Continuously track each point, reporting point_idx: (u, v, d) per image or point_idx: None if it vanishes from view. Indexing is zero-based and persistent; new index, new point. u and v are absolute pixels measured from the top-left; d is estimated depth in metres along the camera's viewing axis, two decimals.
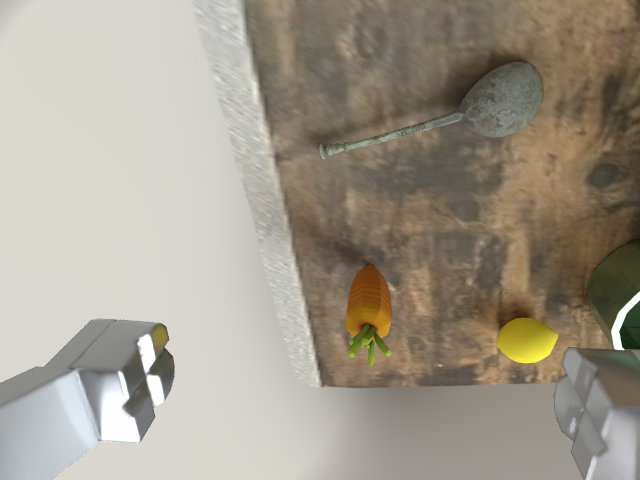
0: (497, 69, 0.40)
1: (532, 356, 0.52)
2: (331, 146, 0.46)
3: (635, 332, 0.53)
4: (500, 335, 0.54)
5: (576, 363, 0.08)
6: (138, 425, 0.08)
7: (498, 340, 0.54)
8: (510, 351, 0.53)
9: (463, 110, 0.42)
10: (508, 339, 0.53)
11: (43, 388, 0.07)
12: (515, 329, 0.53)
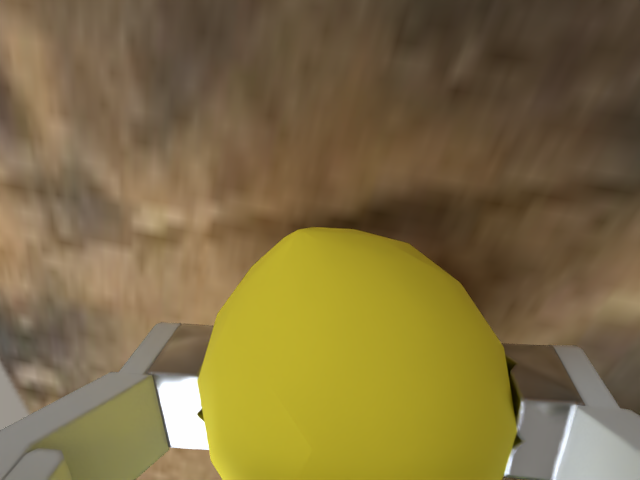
0: None
1: None
2: None
3: None
4: (383, 248, 0.07)
5: None
6: None
7: (343, 242, 0.07)
8: (336, 374, 0.06)
9: None
10: (425, 326, 0.06)
11: (122, 394, 0.07)
12: (489, 341, 0.07)
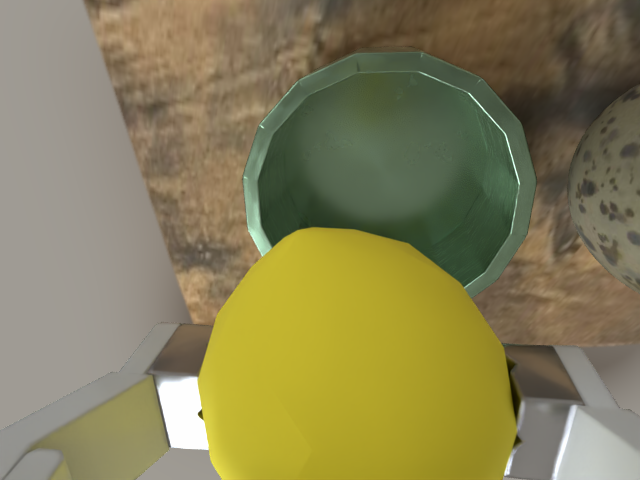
0: None
1: None
2: None
3: (281, 164, 0.27)
4: (383, 248, 0.07)
5: None
6: None
7: (343, 242, 0.07)
8: (337, 375, 0.06)
9: None
10: (426, 326, 0.06)
11: (123, 394, 0.07)
12: (488, 342, 0.07)
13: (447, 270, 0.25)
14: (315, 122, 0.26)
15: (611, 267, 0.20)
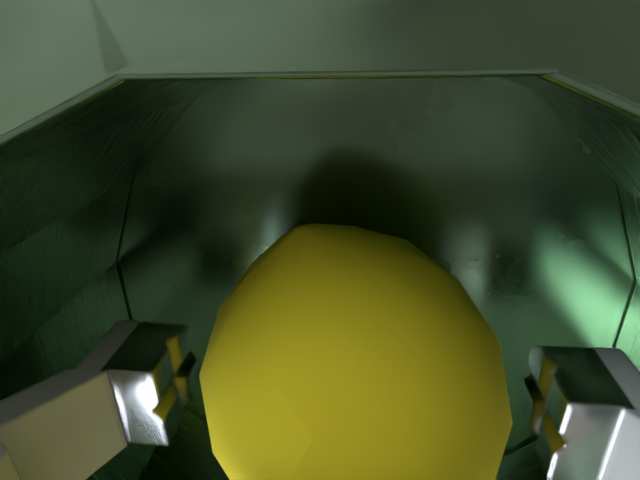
0: None
1: None
2: None
3: (101, 304, 0.11)
4: (381, 244, 0.07)
5: (540, 361, 0.08)
6: (167, 427, 0.08)
7: (342, 238, 0.07)
8: (336, 366, 0.06)
9: None
10: (422, 320, 0.06)
11: (75, 390, 0.07)
12: (485, 335, 0.07)
13: None
14: (184, 201, 0.10)
15: None
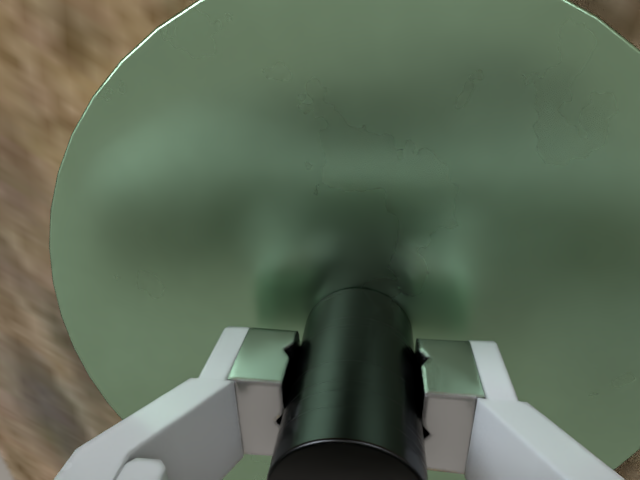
0: None
1: None
2: None
3: None
4: None
5: (417, 353, 0.08)
6: None
7: None
8: None
9: None
10: None
11: (208, 401, 0.07)
12: None
13: None
14: None
15: None
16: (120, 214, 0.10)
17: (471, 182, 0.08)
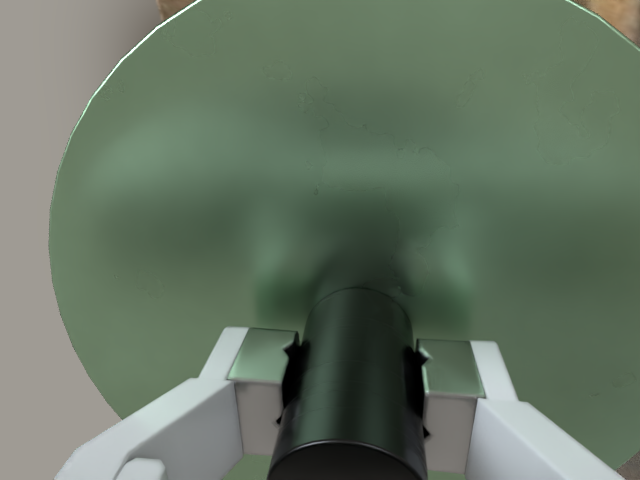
0: None
1: None
2: None
3: None
4: None
5: (417, 353, 0.08)
6: None
7: None
8: None
9: None
10: None
11: (207, 401, 0.07)
12: None
13: None
14: None
15: None
16: (120, 214, 0.10)
17: (472, 182, 0.08)
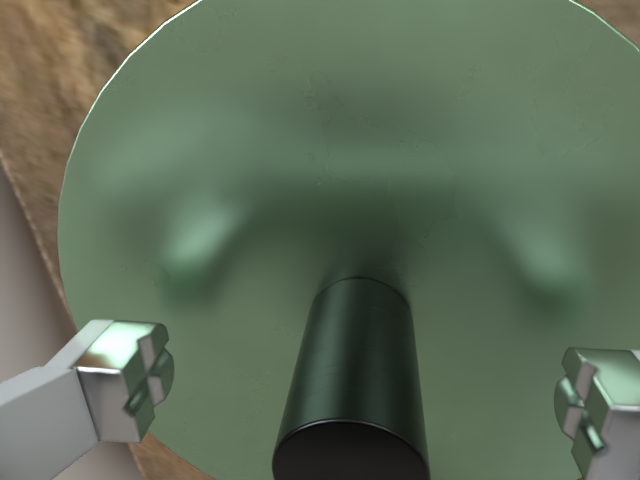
0: None
1: None
2: None
3: None
4: None
5: (576, 363, 0.08)
6: (138, 425, 0.08)
7: None
8: None
9: None
10: None
11: (43, 388, 0.07)
12: None
13: None
14: None
15: None
16: (127, 206, 0.10)
17: (471, 173, 0.09)
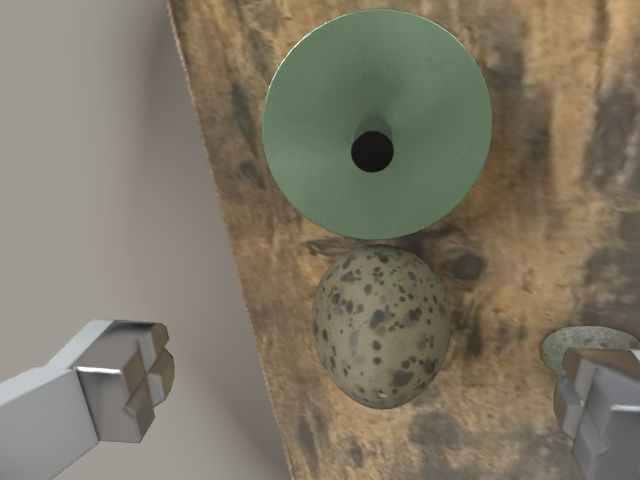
0: None
1: None
2: None
3: None
4: None
5: (576, 363, 0.08)
6: (138, 425, 0.08)
7: None
8: None
9: None
10: None
11: (43, 387, 0.07)
12: None
13: None
14: None
15: (337, 279, 0.33)
16: (292, 93, 0.28)
17: (409, 77, 0.27)
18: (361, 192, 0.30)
